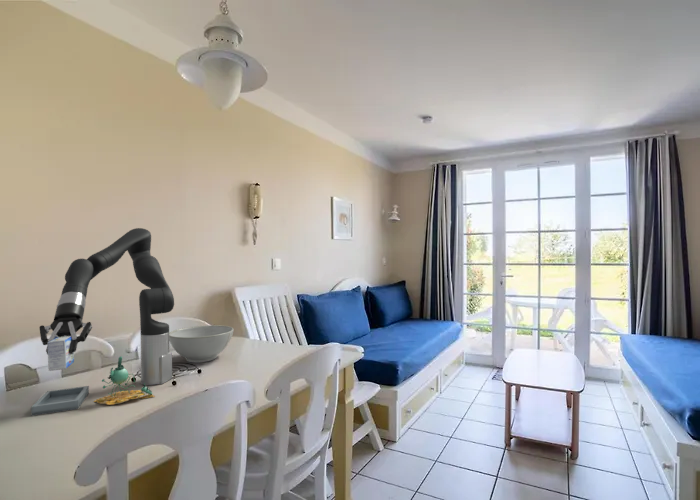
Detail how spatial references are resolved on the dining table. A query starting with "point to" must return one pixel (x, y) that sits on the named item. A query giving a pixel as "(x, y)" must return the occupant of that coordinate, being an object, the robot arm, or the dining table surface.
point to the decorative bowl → (200, 341)
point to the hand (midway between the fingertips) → (60, 353)
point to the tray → (60, 400)
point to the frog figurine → (118, 378)
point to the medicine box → (59, 353)
